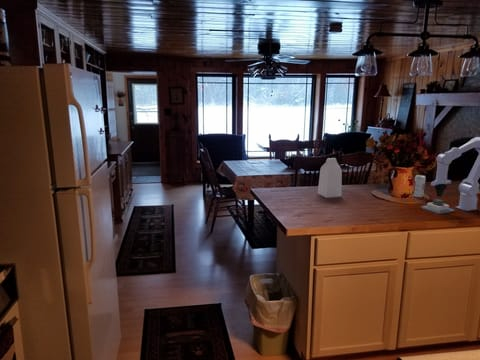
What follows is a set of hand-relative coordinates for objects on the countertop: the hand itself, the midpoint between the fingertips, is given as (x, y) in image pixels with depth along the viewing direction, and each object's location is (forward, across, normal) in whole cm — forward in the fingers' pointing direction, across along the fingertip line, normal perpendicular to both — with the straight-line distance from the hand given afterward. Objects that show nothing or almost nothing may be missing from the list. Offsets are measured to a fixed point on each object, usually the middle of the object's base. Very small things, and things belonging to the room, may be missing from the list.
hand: (439, 196), depth 222 cm
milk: (+9, +40, -54) cm, 68 cm away
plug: (+8, 0, 0) cm, 8 cm away
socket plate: (+9, 0, 0) cm, 9 cm away
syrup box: (+9, -14, -27) cm, 32 cm away
